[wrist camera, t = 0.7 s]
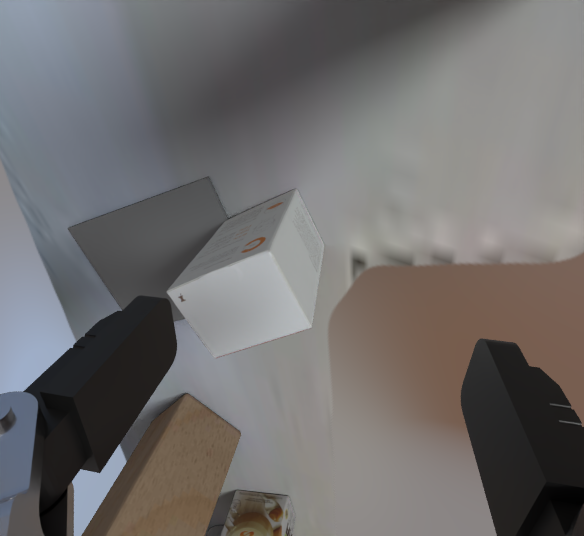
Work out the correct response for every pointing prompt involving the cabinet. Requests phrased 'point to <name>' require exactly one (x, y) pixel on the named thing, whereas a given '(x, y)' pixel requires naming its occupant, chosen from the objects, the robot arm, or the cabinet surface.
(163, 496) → the wooden block
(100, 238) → the mat
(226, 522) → the coffee box
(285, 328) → the small box
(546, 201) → the cabinet surface
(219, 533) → the coffee mug
